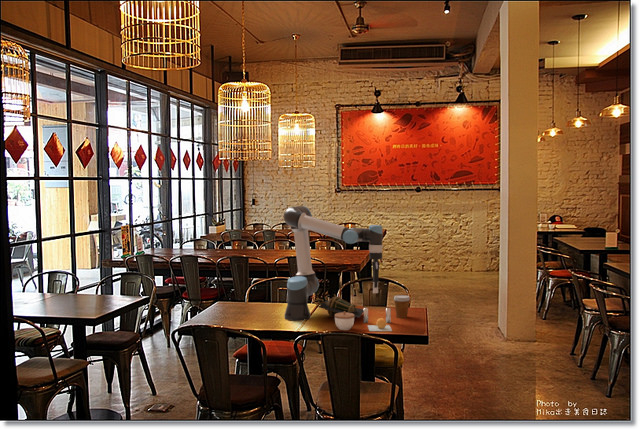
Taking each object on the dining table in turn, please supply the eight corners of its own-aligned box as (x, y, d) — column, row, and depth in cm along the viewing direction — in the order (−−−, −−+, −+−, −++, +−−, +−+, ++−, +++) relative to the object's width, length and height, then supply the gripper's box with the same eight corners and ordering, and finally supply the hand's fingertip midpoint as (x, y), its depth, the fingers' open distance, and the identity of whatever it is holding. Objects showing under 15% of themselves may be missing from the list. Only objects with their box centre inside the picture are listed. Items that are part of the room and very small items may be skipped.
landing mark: (369, 331, 303) (369, 330, 303) (367, 325, 315) (367, 325, 315) (392, 331, 303) (392, 330, 303) (389, 325, 315) (389, 325, 315)
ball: (374, 323, 312) (376, 330, 307) (376, 315, 310) (377, 322, 305) (384, 323, 313) (386, 330, 308) (386, 316, 310) (387, 322, 305)
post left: (363, 323, 321) (363, 309, 320) (363, 322, 323) (363, 308, 323) (368, 323, 321) (368, 308, 320) (367, 322, 323) (367, 307, 323)
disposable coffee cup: (398, 319, 330) (398, 298, 329) (390, 315, 339) (390, 295, 338) (413, 317, 333) (413, 297, 333) (404, 314, 342) (404, 294, 342)
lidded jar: (352, 332, 302) (352, 314, 301) (332, 330, 305) (332, 313, 304) (356, 327, 312) (356, 310, 311) (337, 325, 315) (337, 308, 314)
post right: (386, 323, 321) (386, 308, 320) (385, 321, 323) (385, 307, 323) (390, 323, 321) (390, 308, 320) (390, 321, 323) (390, 307, 323)
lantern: (355, 330, 320) (305, 313, 327) (361, 324, 343) (314, 308, 349) (362, 307, 320) (312, 290, 326) (367, 302, 343) (320, 287, 349)
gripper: (383, 253, 321) (383, 295, 323) (381, 250, 334) (380, 290, 336) (370, 253, 321) (370, 295, 323) (368, 250, 334) (367, 290, 336)
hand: (375, 292), depth 329 cm, fingers closed
